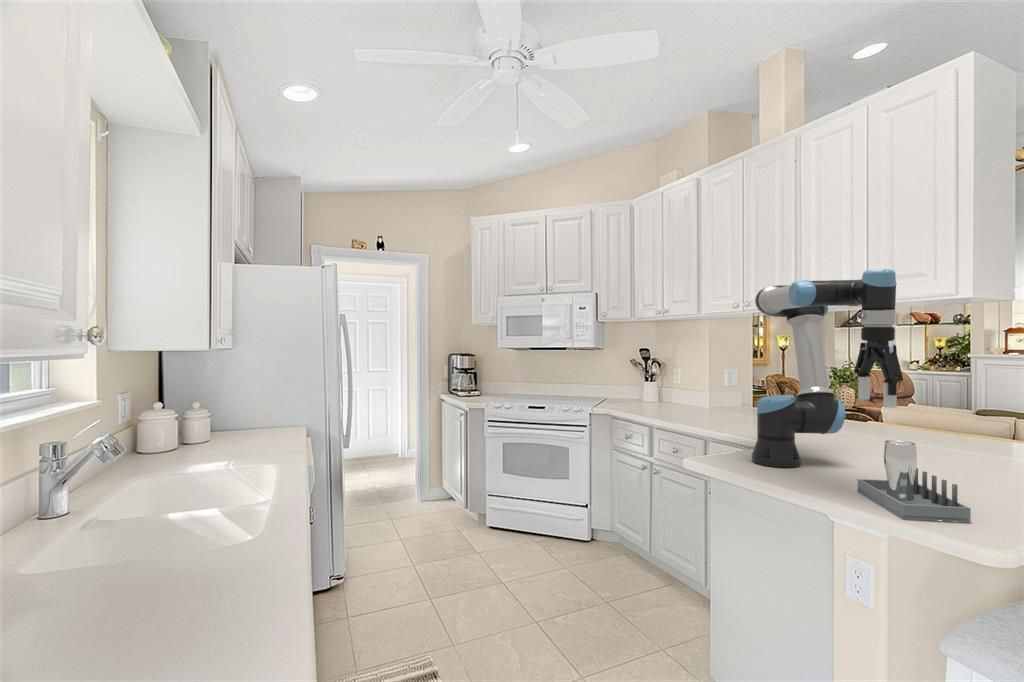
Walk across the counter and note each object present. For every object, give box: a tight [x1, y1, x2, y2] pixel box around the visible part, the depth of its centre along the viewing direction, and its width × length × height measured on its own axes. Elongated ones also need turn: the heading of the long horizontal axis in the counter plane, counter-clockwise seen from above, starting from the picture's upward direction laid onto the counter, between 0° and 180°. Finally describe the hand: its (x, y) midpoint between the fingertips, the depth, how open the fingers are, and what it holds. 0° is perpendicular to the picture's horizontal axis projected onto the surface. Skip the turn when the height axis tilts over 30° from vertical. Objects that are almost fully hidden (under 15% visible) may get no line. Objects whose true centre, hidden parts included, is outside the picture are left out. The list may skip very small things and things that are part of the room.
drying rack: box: [857, 467, 971, 523], centre depth 133 cm, size 23×14×8 cm, turn 169°
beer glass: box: [883, 439, 918, 503], centre depth 135 cm, size 7×7×15 cm
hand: (876, 403), depth 142 cm, fingers open, 13 cm apart
